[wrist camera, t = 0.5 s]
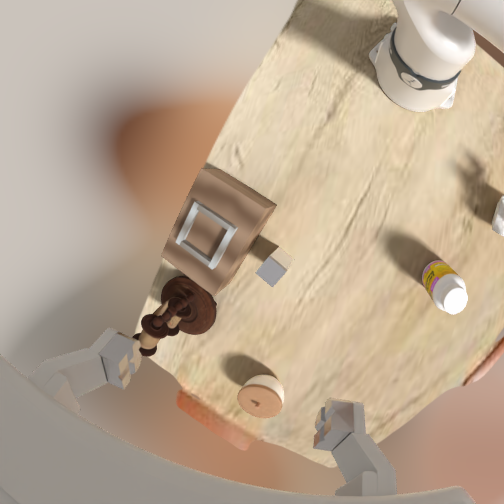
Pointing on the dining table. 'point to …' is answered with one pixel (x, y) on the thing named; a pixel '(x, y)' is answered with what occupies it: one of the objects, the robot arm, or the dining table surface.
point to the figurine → (499, 218)
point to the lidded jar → (261, 396)
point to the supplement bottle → (445, 287)
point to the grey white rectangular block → (275, 266)
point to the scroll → (177, 314)
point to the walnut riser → (216, 229)
